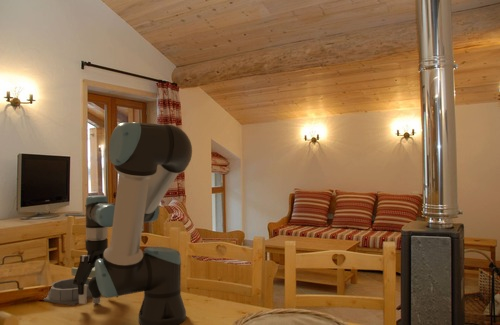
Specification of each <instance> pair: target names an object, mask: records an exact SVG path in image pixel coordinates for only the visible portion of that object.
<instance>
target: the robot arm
mask: <svg viewBox="0 0 500 325" xmlns="http://www.w3.org/2000/svg"><path fill="white" fill-rule="evenodd" d="M192 155H193V146H192V143H191V140H190V137H189V136H188V134H187V133H186V132H185V131H184V130H182V129H181V128H180V127H178V126H176V125H173V124H166V123H165V124H162V123H161V124H159V123H148V122H147V123H146V122H137V121H133V122H120V123H118V125H117V126H116V127H115V128H114V129H113V131H112V133H111V135H110V139H109V143H108V158H109V161H110V163H111V164H112V165H114V167H113V169H114V170H115V171H116V172H117V173H118V178H117V180H118V181H117V186H116V195H115V196H116V197H115V202H111V203H109V198H108V196H107V195H104V194H103V195H99V194H98V195H89V196H86V198H85V238H86V240H85V251H87V254H86V255H85V254H84V255H83V254H80V256H79V257H80V258H79V262H78V263H79V264H78V266H77V268H78V269H77V272H76V275H75V276H74V277H73V278H74V281H73V284H75V285H78V295H79V303H78V304H80V305H87V303H88V302H87V300H88V299H87V285H85V283H86V281H87V279H89V275H90V273H91V271H92V269H93V268H94V267H95V276H96V281H97V285H98V288H99V291H100V293H101V296H102V297H104V298H109V299H110V298H114V297H115V298H118V297H120V296H126V295H132V294H136V293H143V300H142V303H141V306H140V309H139V311H138V323H139V324H140V325H180V324H182V323H184V322H185V321H186V318H187V310H186V307H185V304H184V301H183V297H182V292H181V287H182V286H181V285H182V282H181V281H182V280H181V279H182V278H181V277H182V276H181V275H182V259H181V258H182V256H181V252H180V251H178V249H175V248H172V247H163V246H148V247H145V248H144V250H143V251H142V249H141V248H140V246H141V240H142V233H143V227H144V224H146V223H147V224H148V223H152V222H156V221H157V220H158V218H159V215H160V206H159V205H160V203H161V201H162V200H163V199H164V197H165V195H166V194H167V192H168V190H169V189H170V187H171V186H172V185H173V183H174V182H175V180H176V178H177V177H178V176H179V175H180V174H181V173H183V172H185V170H186V169H187V168H188V166H189V164H190V162H191V160H192ZM109 228H111V233H110V234H111V235H110V242H109V241H108V240H109V239H108V237H109ZM77 280H78V281H77ZM82 280H83V281H82Z"/></svg>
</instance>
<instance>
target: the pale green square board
mask: <svg viewBox="0 0 500 325" xmlns="http://www.w3.org/2000/svg"><path fill="white" fill-rule="evenodd" d="M77 269H78V267H71V276H74V277H75V275H76V272H77ZM93 277H96V276H95V267H94V268H93V269H92V271H91V273H90V275H89V277H88V279H92V278H93Z"/></svg>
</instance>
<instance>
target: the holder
mask: <svg viewBox="0 0 500 325" xmlns="http://www.w3.org/2000/svg"><path fill="white" fill-rule="evenodd" d="M74 278H75V277H73V278H66V279H59V280H57V281H54V282H51V284H52V287H51V289H50V291H49V290H48V293H47V294H46V295H47V297H46V298H44V299H43V300H44V301H43V302H49V303H54V304H59V305H61V304H62V305H68V306H75V305H78V304H80V303H79V295H78V285H75V284H73V281H74ZM91 279H92V278H88V279H87V281H86V283H85V285H87V300H89V299H92V298H93V297H92V294H91V292H90V290H89V288H88V283H89V281H90V280H91ZM77 281H78V280H77ZM82 281H83V280H82Z"/></svg>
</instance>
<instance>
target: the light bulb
mask: <svg viewBox="0 0 500 325" xmlns="http://www.w3.org/2000/svg"><path fill="white" fill-rule="evenodd" d="M90 279H91V280H90V281H89V283H88V288H89V290H90V292H91V294H92V297H91V298H92V303H93V304H94V305H95V306H97V305H98V304H99V303H101V296H102V295H101V293H100V291H99V288H98V285H97V281H96V277H93V278H90Z"/></svg>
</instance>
